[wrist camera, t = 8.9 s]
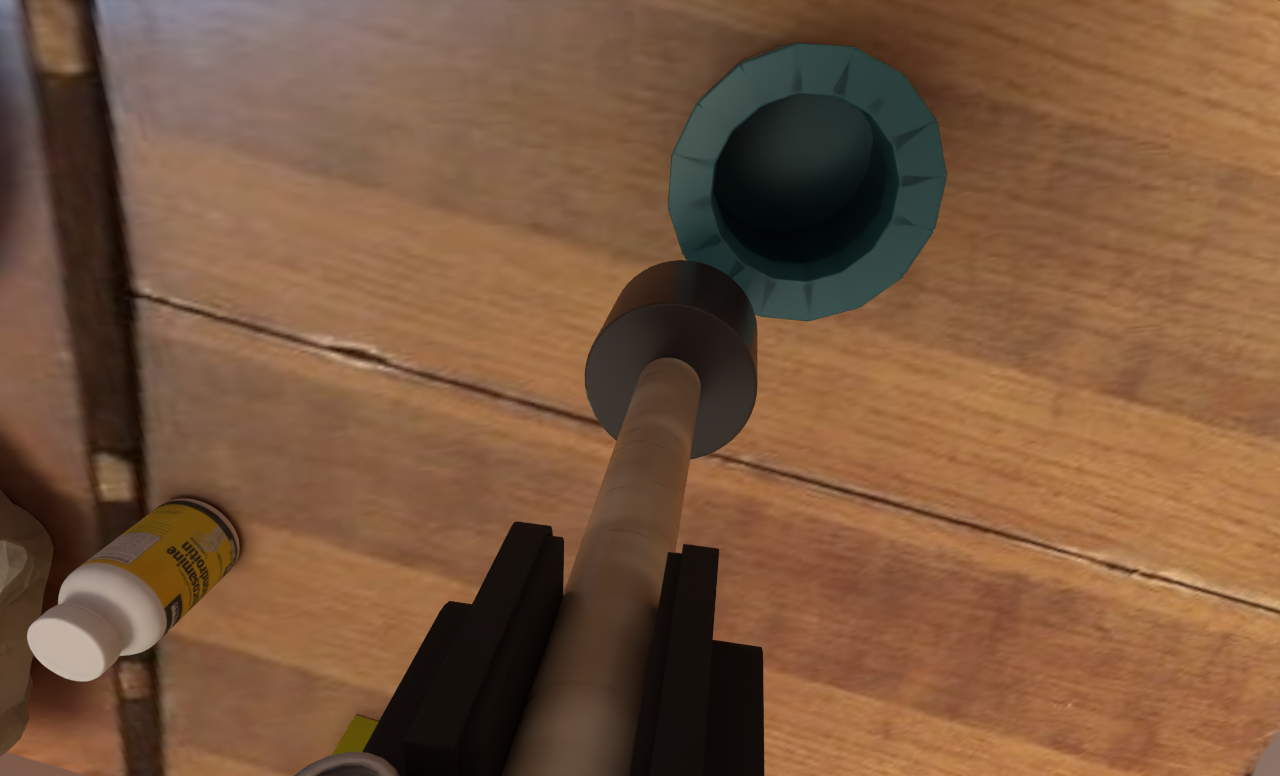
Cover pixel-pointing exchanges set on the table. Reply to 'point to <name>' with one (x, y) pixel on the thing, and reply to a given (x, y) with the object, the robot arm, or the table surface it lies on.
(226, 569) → the pill bottle
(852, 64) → the jar
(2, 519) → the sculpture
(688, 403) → the scrub brush
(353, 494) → the table surface
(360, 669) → the table surface
